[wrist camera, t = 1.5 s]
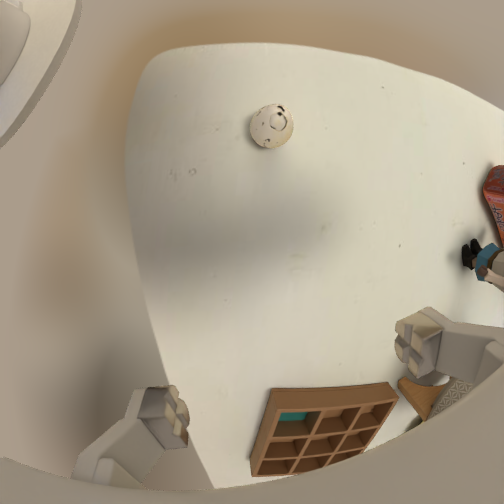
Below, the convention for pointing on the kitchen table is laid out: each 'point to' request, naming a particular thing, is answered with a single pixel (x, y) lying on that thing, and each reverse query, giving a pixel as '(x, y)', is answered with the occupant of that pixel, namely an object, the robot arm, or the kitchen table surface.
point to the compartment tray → (318, 427)
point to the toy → (485, 262)
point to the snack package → (496, 196)
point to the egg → (272, 126)
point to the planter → (433, 395)
